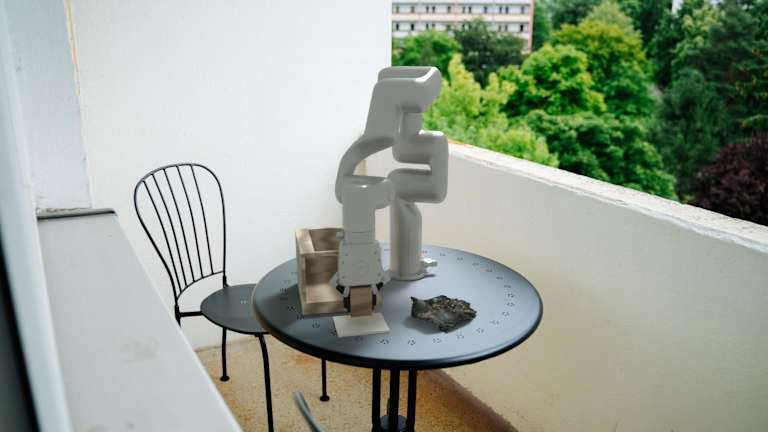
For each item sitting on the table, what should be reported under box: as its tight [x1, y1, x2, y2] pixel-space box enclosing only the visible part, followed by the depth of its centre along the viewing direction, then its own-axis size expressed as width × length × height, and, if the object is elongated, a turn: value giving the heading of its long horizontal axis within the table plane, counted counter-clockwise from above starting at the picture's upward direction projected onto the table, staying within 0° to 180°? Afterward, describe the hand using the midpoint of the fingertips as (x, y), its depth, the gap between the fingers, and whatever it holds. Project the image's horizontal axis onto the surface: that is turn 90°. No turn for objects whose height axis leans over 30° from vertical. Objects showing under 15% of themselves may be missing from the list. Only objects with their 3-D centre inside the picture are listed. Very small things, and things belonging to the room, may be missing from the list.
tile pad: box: [332, 312, 390, 338], centre depth 139 cm, size 12×10×1 cm
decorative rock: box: [409, 294, 478, 334], centre depth 144 cm, size 19×6×15 cm
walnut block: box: [349, 285, 373, 317], centre depth 137 cm, size 5×5×7 cm
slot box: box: [294, 225, 383, 316], centre depth 155 cm, size 20×22×16 cm
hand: (359, 308), depth 137 cm, fingers closed on walnut block, 5 cm apart
